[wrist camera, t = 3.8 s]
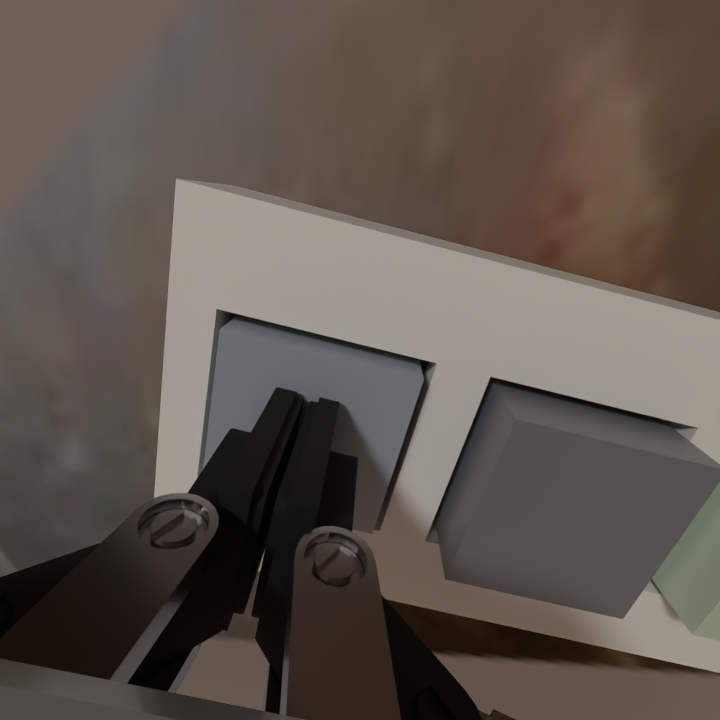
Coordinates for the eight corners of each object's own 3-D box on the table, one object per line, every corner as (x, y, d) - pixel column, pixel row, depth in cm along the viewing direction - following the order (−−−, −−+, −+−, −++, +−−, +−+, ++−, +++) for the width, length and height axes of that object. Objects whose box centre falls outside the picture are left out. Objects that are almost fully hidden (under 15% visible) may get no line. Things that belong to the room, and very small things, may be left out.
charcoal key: (646, 408, 12) (727, 470, 9) (573, 534, 14) (622, 618, 11) (483, 367, 12) (516, 419, 9) (431, 501, 13) (444, 579, 11)
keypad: (883, 354, 13) (1075, 412, 10) (704, 585, 17) (791, 688, 14) (236, 186, 13) (175, 178, 9) (202, 470, 17) (150, 547, 13)
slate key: (414, 340, 13) (424, 379, 10) (374, 469, 14) (372, 534, 12) (256, 300, 12) (219, 329, 10) (235, 437, 14) (199, 494, 11)
